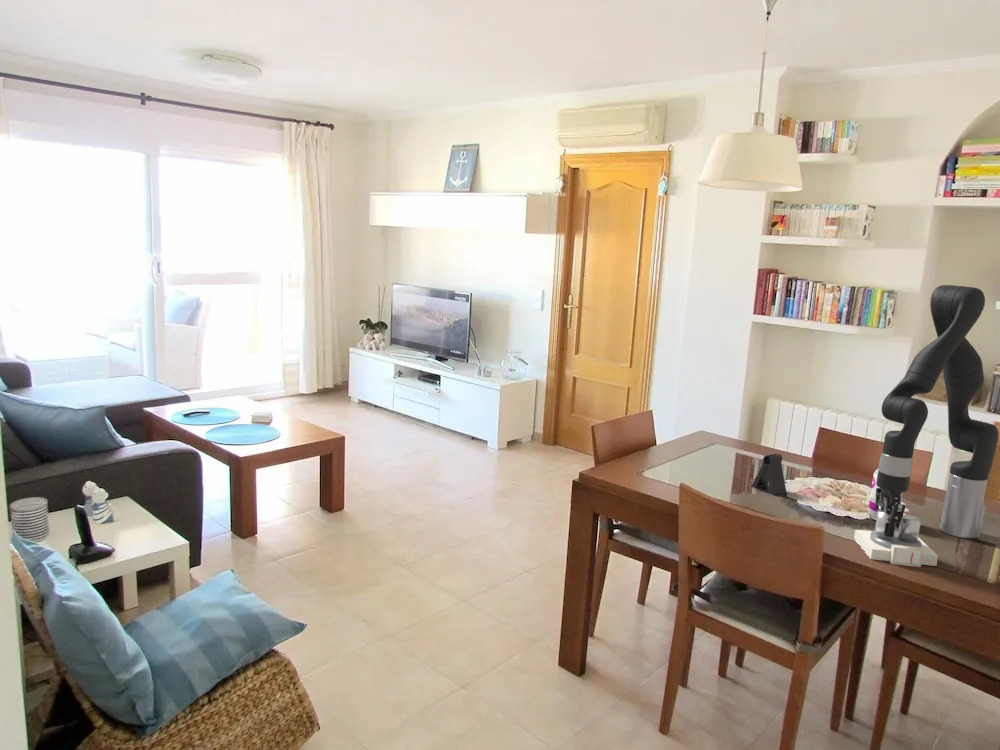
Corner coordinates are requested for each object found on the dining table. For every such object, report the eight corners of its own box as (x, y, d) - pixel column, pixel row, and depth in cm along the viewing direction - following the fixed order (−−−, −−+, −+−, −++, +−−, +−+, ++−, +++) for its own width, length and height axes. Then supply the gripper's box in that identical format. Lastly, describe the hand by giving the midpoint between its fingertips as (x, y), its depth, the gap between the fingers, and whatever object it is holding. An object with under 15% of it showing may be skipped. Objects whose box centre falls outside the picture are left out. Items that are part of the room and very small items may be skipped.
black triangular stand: (751, 487, 241) (755, 452, 238) (762, 484, 244) (767, 450, 242) (774, 495, 233) (779, 459, 231) (786, 492, 237) (790, 457, 234)
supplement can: (863, 518, 217) (870, 470, 214) (872, 512, 223) (880, 465, 220) (892, 526, 212) (900, 477, 209) (901, 520, 217) (909, 472, 215)
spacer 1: (889, 531, 195) (893, 510, 194) (896, 538, 191) (900, 517, 190) (871, 529, 196) (875, 508, 195) (878, 536, 191) (881, 515, 190)
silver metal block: (912, 537, 195) (916, 516, 194) (920, 544, 190) (924, 522, 189) (894, 535, 195) (898, 514, 194) (901, 542, 191) (905, 520, 190)
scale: (915, 545, 199) (917, 529, 198) (940, 569, 184) (943, 552, 184) (853, 539, 201) (856, 523, 200) (873, 562, 186) (876, 545, 186)
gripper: (921, 481, 182) (910, 544, 186) (898, 464, 196) (889, 523, 200) (889, 478, 183) (879, 541, 187) (869, 461, 197) (860, 520, 201)
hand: (884, 532), depth 193 cm, fingers closed on spacer 1, 4 cm apart
